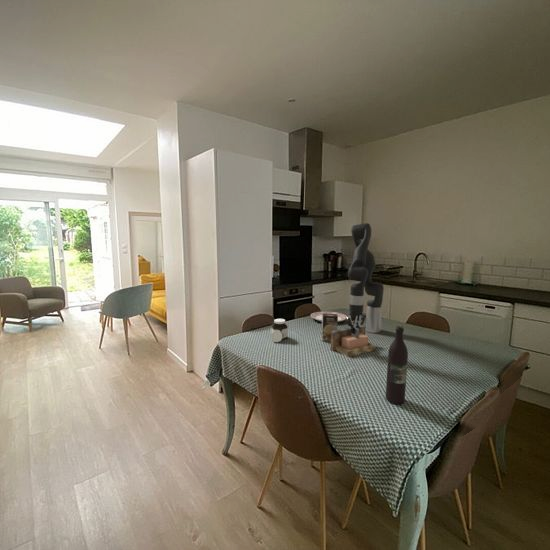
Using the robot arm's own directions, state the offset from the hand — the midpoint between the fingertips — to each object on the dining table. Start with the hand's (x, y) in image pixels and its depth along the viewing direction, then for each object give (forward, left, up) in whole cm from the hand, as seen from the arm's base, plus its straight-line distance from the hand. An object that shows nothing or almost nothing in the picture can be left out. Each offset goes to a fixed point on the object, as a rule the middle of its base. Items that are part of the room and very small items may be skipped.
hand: (355, 332), depth 166 cm
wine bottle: (+21, +46, -10) cm, 51 cm away
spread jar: (+30, -34, -10) cm, 47 cm away
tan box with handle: (0, 0, -10) cm, 10 cm away
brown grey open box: (0, 0, -10) cm, 10 cm away
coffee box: (+3, -19, -10) cm, 22 cm away
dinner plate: (-24, -54, -10) cm, 60 cm away
